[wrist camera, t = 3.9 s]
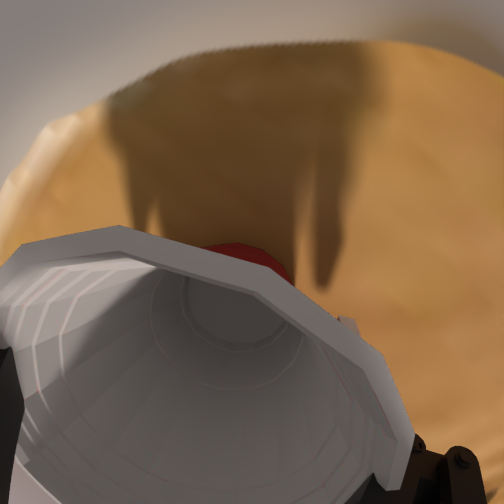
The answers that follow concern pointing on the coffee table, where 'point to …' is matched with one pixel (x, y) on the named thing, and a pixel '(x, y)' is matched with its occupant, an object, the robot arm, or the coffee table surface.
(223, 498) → the plastic cup
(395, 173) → the coffee table surface
